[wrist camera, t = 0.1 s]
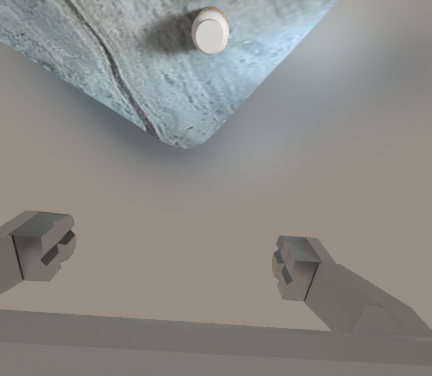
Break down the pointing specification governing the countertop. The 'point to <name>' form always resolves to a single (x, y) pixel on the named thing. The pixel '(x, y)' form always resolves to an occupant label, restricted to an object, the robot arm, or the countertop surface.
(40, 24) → the countertop surface
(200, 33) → the supplement bottle
